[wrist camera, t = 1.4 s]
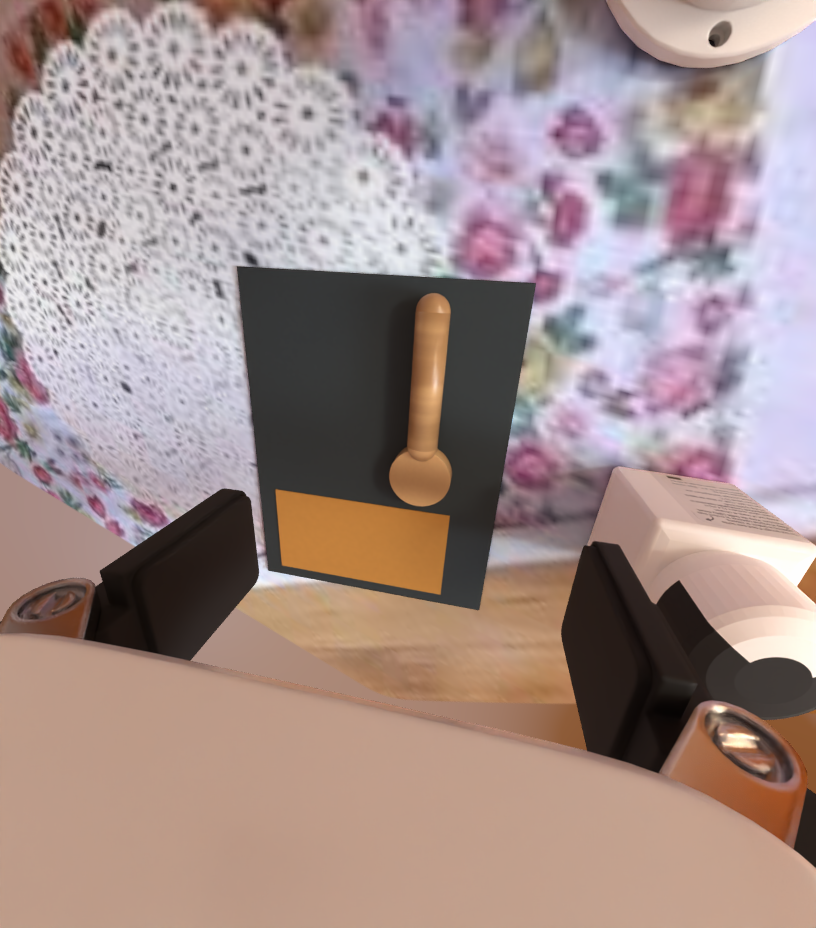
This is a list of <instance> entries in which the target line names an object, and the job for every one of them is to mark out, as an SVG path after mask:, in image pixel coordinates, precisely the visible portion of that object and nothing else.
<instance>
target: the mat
mask: <svg viewBox="0 0 816 928" xmlns="http://www.w3.org/2000/svg"><path fill="white" fill-rule="evenodd" d="M237 271H238V281H239V291H240V300H241V310H242V320H243V329H244V339H245V348H246V358H247V368H248V377H249V387H250V397H251V406H252V416H253V425H254V435H255V445H256V454H257V464H258V474H259V483H260V493H261V502H262V512H263V522H264V531H265V541H266V551H267V560H268V570H269V571H274V572H279V573H284V574H290V575H295V576H300V577H305V578H311V579H316V580H321V581H327V582H332V583H337V584H342V585H348V586H353V587H358V588H364V589H369V590H374V591H380V592H385V593H390V594H395V595H401V596H406V597H411V598H417V599H422V600H427V601H432V602H438V603H443V604H448V605H454V606H459V607H464V608H469V609H475V610H479V607H480V602H481V596H482V590H483V584H484V579H485V573H486V567H487V561H488V556H489V550H490V544H491V538H492V533H493V527H494V521H495V515H496V510H497V504H498V498H499V492H500V487H501V481H502V475H503V469H504V464H505V458H506V452H507V447H508V441H509V435H510V429H511V424H512V418H513V412H514V406H515V401H516V395H517V389H518V383H519V378H520V372H521V366H522V360H523V355H524V349H525V343H526V337H527V332H528V326H529V320H530V314H531V309H532V303H533V297H534V291H535V286H536V283H520V282H502V281H485V280H467V279H449V278H431V277H414V276H396V275H378V274H361V273H343V272H325V271H307V270H290V269H272V268H254V267H237ZM430 293H438V294H440V295H442V296H444V297H445V298H446V299H447V301H448V302H449V305H450V309H451V315H450V325H449V335H448V346H447V356H446V366H445V377H444V387H443V397H442V408H441V418H440V428H439V438H438V448H437V449H439V450H440V451H441V452H443V454H444V455H445V456H446V457H447V458H448V460H449V462H450V465H451V468H452V478H451V483H450V487H449V490H448V492H447V494H446V495H445V496H444V498H443V499H441V500H440V501H439V502H437V503H435V504H433V505H429V506H415V505H411V504H409V503H406V502H405V501H403V500H402V499H400V498H399V497H398V496H397V495H396V493H395V492H394V491H393V489H392V487H391V484H390V480H389V472H390V468H391V465H392V463H393V462H394V460H395V458H396V457H397V455H398V454H399V453H400V452H401V451H402V450H403V449H404V448H406V447H407V440H408V424H409V408H410V392H411V376H412V361H413V345H414V329H415V313H416V306H417V304H418V302H419V300H420V299H421V298H422V297H423V296H425V295H427V294H430Z"/></svg>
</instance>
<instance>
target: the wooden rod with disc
mask: <svg viewBox="0 0 816 928" xmlns="http://www.w3.org/2000/svg"><path fill="white" fill-rule="evenodd" d="M450 315H451V309H450V305H449V302H448V301H447V299H446V298H445V297H444V296H442V295H440V294H438V293H430V294H427V295H425V296H423V297H422V298H421V299H420V300H419V302H418V304H417V306H416V313H415V329H414V345H413V361H412V376H411V392H410V408H409V424H408V440H407V447H406V448H404V449H403V450H402V451H401V452H400V453H399V454H398V455H397V457H396V458H395V460H394V462H393V463H392V465H391V468H390V472H389V480H390V484H391V487H392V489H393V491H394V492H395V493H396V495H397V496H398V497H399V498H400V499H402V500H403V501H405V502H406V503H409V504H411V505H415V506H429V505H433V504H435V503H437V502H439V501H440V500H441V499H443V498H444V496H445V495H446V494H447V492H448V490H449V487H450V483H451V478H452V468H451V465H450V462H449V460H448V458H447V457H446V456H445V455H444V454H443V452H441V451H440V450H439V449H437V448H438V438H439V428H440V418H441V408H442V397H443V387H444V377H445V366H446V356H447V346H448V335H449V325H450Z"/></svg>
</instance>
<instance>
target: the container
mask: <svg viewBox="0 0 816 928" xmlns="http://www.w3.org/2000/svg"><path fill="white" fill-rule="evenodd" d="M593 541H598V542H606V543H613V544H618V545H619V546H620V547H621V549H622V551H623V552H624V554H625V556H626V558H627V560H628V561H629V563H630V565H631V567H632V568H633V570H634V572H635V574H636V575H637V577H638V579H639V581H640V582H641V584H642V586H643V588H644V589H645V591H646V593H647V595H648V597H649V598H650V600H651V602H653V603H655V604H656V605H657V606H658V607H659V609H660V610H661V612H662V613H663V615H664V617H665V619H666V620H667V622H668V624H669V625H670V627H671V629H672V631H673V632H674V634H675V636H676V638H677V639H678V641H679V643H680V644H681V646H682V648H683V650H684V651H685V653H686V655H687V656H688V658H689V660H690V662H691V663H692V665H693V667H694V668H695V670H696V672H697V674H698V675H699V677H700V679H701V681H702V682H703V684H704V686H705V687H706V689H707V691H708V693H709V694H710V696H711V698H712V699H713V701H721V702H727V703H729V704H732V705H735V706H738V707H741V708H743V709H745V710H746V711H748V712H750V713H752V714H754V715H756V716H758V717H759V718H760V719H762V720H775V719H784V718H789V717H794V716H799V715H802V714H805V713H808V712H811V711H813V710H816V604H815V603H814V602H813V601H812V600H811V599H810V598H808V597H807V596H806V595H805V594H804V593H803V592H802V591H801V590H800V589H799V588H798V587H797V585H798V584H799V582H800V580H801V579H802V577H803V576H804V574H805V573H806V571H807V569H808V568H809V566H810V565H811V563H812V562H813V560H814V559H815V557H816V546H815V545H814V544H813V543H811V542H810V541H809V540H807V539H806V538H805V537H803V536H802V535H801V534H799V533H798V532H797V531H795V530H794V529H792V528H791V527H790V526H788V525H787V524H786V523H784V522H783V521H782V520H780V519H779V518H778V517H776V516H775V515H774V514H772V513H771V512H770V511H768V510H767V509H766V508H764V507H763V506H762V505H760V504H759V503H758V502H756V501H755V500H753V499H752V498H751V497H749V496H748V495H747V494H745V493H744V492H743V491H741V490H740V489H739V488H737V487H736V486H735V485H732V484H729V483H723V482H717V481H710V480H704V479H697V478H691V477H684V476H678V475H672V474H665V473H659V472H652V471H646V470H639V469H633V468H626V467H620V466H619V467H615V468H614V469H613V471H612V474H611V477H610V480H609V483H608V486H607V489H606V492H605V495H604V497H603V500H602V503H601V506H600V509H599V512H598V515H597V518H596V521H595V524H594V527H593V530H592V533H591V536H590V539H589V541H588V544H587V546H591V544H592V542H593Z"/></svg>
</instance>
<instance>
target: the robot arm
mask: <svg viewBox="0 0 816 928" xmlns="http://www.w3.org/2000/svg"><path fill="white" fill-rule="evenodd" d="M606 1H607V4H608V6H609V8H610V10H611V12H612V13H613V15H614V17H615V19H616V21H617V22H618V24H619V26H620V28H621V29H622V30H623V31H624V32H625V34H626V35H627V36H628V37H629V38H630V39H631V40H632V41H633V42H634V43H635V44H636V45H637V46H638V47H639V48H640V49H642V50H644V51H645V52H647V53H648V54H650V55H652V56H653V57H655V58H656V59H658V60H660V61H664V62H667V63H670V64H674V65H677V66H681V67H691V68H713V67H719V66H724V65H729V64H734V63H739V62H742V61H744V60H747V59H750V58H752V57H755V56H757V55H760V54H762V53H765V52H767V51H770V50H771V49H773V48H775V47H777V46H778V45H780V44H782V43H783V42H785V41H787V40H788V39H790V38H792V37H794V36H795V35H797V34H799V33H800V32H802V31H803V30H804V29H806V28H807V27H808V26H809V25H811V24H812V23H813V22H814V21H816V0H606ZM708 40H713V41H714V42H715V47H713V46H711V45H710V43H709V41H708ZM100 574H101V577H102V580H103V582H102V583H100V584H99V585H97V586H96V587H95V584H94V583H93V582H92V581H91V580H88V579H85V578H68V579H62V580H58V581H54V582H51V583H47V584H45V585H42V586H40V587H38V588H35V589H33V590H31V591H30V592H28V593H26V594H24V595H23V596H21V597H20V598H19V599H17V600H16V601H15V602H14V603H13V604H12V605H11V606H10V607H9V609H8V610H7V612H6V614H5V616H4V617H3V619H2V621H1V622H0V928H816V794H815V793H813V792H812V791H811V790H809V789H808V788H807V785H808V779H807V770H806V768H805V766H804V764H803V762H802V760H801V758H800V756H799V755H798V754H797V752H796V751H795V750H794V748H793V747H792V746H791V745H790V743H789V742H788V741H787V740H785V738H784V737H783V736H781V734H779V733H778V732H777V731H776V730H775V729H774V728H773V727H772V726H770V725H769V724H767V723H766V722H764V721H763V720H762V719H760V718H759V717H758V716H756V715H754V714H752V713H750V712H748V711H746V710H745V709H743V708H741V707H738V706H735V705H732V704H729V703H727V702H721V701H713V699H712V698H711V696H710V694H709V693H708V691H707V689H706V687H705V686H704V684H703V682H702V681H701V679H700V677H699V675H698V674H697V672H696V670H695V668H694V667H693V665H692V663H691V662H690V660H689V658H688V656H687V655H686V653H685V651H684V650H683V648H682V646H681V644H680V643H679V641H678V639H677V638H676V636H675V634H674V632H673V631H672V629H671V627H670V625H669V624H668V622H667V620H666V619H665V617H664V615H663V613H662V612H661V610H660V609H659V607H658V606H657V605H656V604H655V603H653V602H651V600H650V598H649V597H648V595H647V593H646V591H645V589H644V588H643V586H642V584H641V582H640V581H639V579H638V577H637V575H636V574H635V572H634V570H633V568H632V567H631V565H630V563H629V561H628V560H627V558H626V556H625V554H624V552H623V551H622V549H621V547H620V546H619V545H618V544H613V543H606V542H598V541H593V542H592V544H591V546H587V545H585V546H584V547H583V549H582V553H581V556H580V560H579V564H578V568H577V571H576V575H575V579H574V583H573V586H572V590H571V594H570V597H569V601H568V605H567V609H566V612H565V616H564V620H563V623H562V630H561V635H562V642H563V647H564V651H565V655H566V660H567V664H568V668H569V673H570V677H571V682H572V686H573V690H574V695H575V699H576V703H577V707H578V712H579V716H580V721H581V724H582V730H583V734H584V738H585V742H586V747H587V751H585V750H581V749H577V748H573V747H569V746H565V745H561V744H557V743H552V742H549V741H545V740H541V739H536V738H532V737H528V736H524V735H520V734H516V733H512V732H508V731H504V730H499V729H495V728H491V727H486V726H482V725H478V724H473V723H469V722H464V721H460V720H455V719H451V718H447V717H442V716H438V715H434V714H429V713H424V712H420V711H416V710H412V709H407V708H403V707H398V706H394V705H390V704H385V703H381V702H376V701H372V700H367V699H363V698H358V697H353V696H349V695H344V694H340V693H335V692H331V691H327V690H322V689H318V688H313V687H308V686H304V685H299V684H295V683H290V682H285V681H281V680H277V679H272V678H268V677H263V676H258V675H254V674H249V673H245V672H240V671H235V670H230V669H226V668H221V667H217V666H212V665H207V664H203V663H198V662H193V661H190V660H191V659H192V658H193V657H194V655H195V654H196V653H197V652H198V651H199V650H200V648H201V647H202V646H203V645H204V644H205V642H206V641H207V640H208V639H209V638H210V637H211V635H212V634H213V633H214V632H215V631H216V630H217V628H218V627H219V626H220V625H221V624H222V622H223V621H224V620H225V619H226V618H227V617H228V615H229V614H230V613H231V612H232V611H233V610H234V608H235V607H236V606H237V605H238V604H239V602H240V601H241V600H242V599H243V598H244V597H245V595H246V594H247V593H248V592H249V591H250V589H251V588H252V587H253V586H254V585H255V583H256V581H257V579H258V576H259V567H258V559H257V550H256V542H255V533H254V524H253V516H252V507H251V500H250V498H249V497H247V496H246V494H245V493H244V492H243V491H239V490H232V489H221V490H219V491H218V492H216V493H215V494H213V495H212V496H210V497H209V498H207V499H206V500H204V501H203V502H201V503H200V504H198V505H197V506H195V507H194V508H193V509H191V510H190V511H188V512H187V513H185V514H184V515H182V516H181V517H179V518H178V519H176V520H175V521H173V522H172V523H170V524H169V525H167V526H166V527H164V528H163V529H161V530H160V531H158V532H157V533H155V534H154V535H152V536H151V537H149V538H148V539H146V540H145V541H143V542H142V543H140V544H139V545H137V546H136V547H135V548H133V549H132V550H130V551H129V552H127V553H126V554H124V555H123V556H121V557H120V558H118V559H117V560H115V561H114V562H112V563H111V564H109V565H108V566H106V567H105V568H103V569H102V570H100Z"/></svg>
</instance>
